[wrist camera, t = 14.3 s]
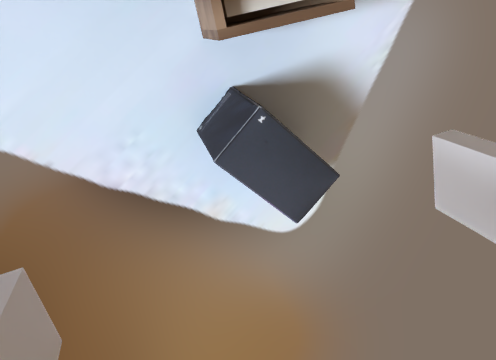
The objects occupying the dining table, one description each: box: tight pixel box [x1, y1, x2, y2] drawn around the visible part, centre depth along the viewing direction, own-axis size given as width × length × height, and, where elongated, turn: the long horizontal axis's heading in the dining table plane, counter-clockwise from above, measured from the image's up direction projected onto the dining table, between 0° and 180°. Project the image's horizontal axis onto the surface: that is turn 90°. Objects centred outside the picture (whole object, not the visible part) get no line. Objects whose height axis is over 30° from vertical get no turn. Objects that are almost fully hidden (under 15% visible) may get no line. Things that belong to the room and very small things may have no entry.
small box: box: [197, 87, 340, 223], centre depth 40 cm, size 11×6×10 cm, turn 49°
